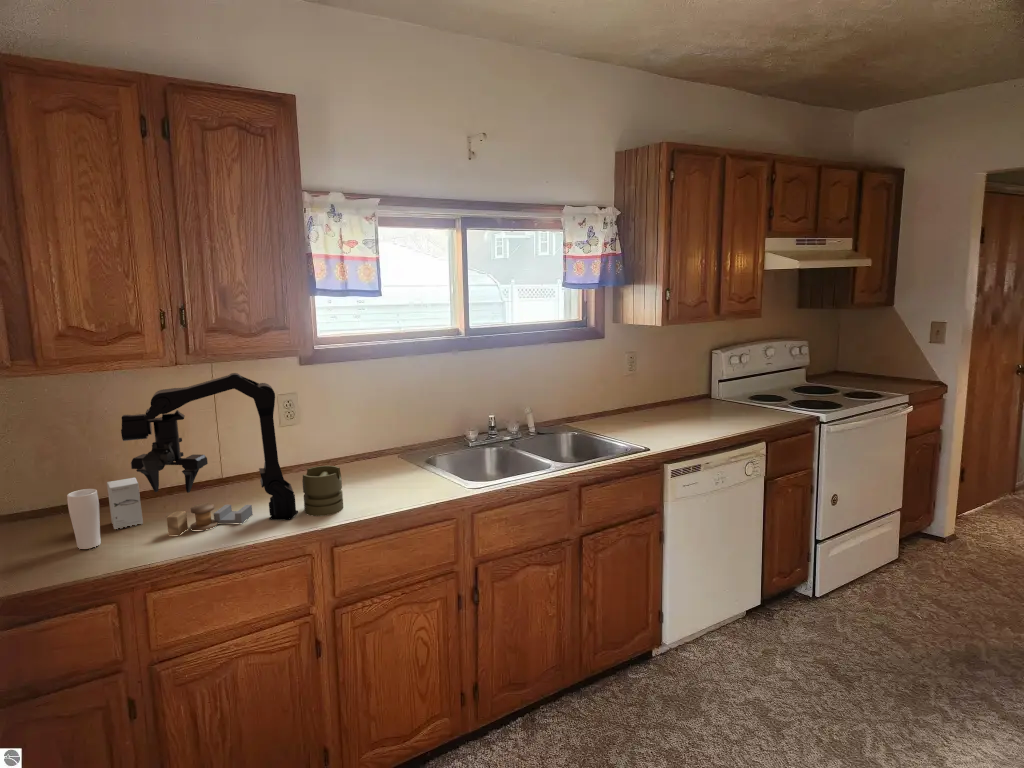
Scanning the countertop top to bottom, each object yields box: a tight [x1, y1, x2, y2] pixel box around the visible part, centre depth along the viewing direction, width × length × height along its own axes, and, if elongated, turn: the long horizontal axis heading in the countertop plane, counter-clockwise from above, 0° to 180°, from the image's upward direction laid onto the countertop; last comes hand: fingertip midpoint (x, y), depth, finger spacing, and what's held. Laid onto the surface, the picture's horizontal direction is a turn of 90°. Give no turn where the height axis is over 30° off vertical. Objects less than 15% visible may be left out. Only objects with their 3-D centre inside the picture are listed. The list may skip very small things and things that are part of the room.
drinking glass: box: [66, 488, 102, 550], centre depth 173 cm, size 7×7×15 cm
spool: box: [189, 502, 219, 531], centre depth 186 cm, size 7×7×6 cm
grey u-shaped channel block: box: [213, 504, 254, 524], centre depth 192 cm, size 8×7×3 cm
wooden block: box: [166, 510, 189, 536], centre depth 182 cm, size 3×4×6 cm, turn 177°
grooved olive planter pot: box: [302, 465, 344, 517], centre depth 198 cm, size 11×12×11 cm
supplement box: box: [106, 477, 144, 530], centre depth 189 cm, size 7×7×13 cm
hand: (172, 491), depth 180 cm, fingers open, 9 cm apart
